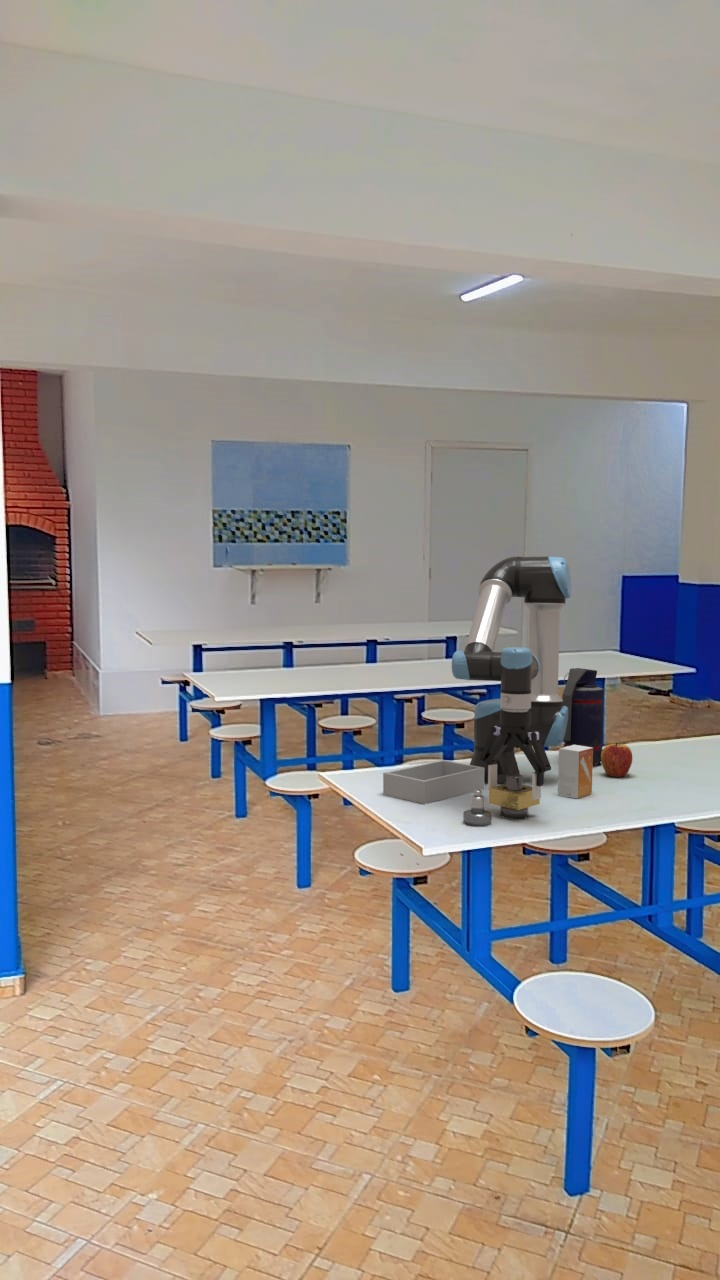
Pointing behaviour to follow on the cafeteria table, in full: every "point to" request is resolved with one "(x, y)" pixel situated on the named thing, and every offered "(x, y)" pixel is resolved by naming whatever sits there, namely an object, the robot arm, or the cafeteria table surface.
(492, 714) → the robot arm
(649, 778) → the cafeteria table surface
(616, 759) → the apple
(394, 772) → the gray bin
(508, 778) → the dark grey round-headed cylinder
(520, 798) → the gold square ring
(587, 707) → the grenade
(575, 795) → the small box
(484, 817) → the cylinder
